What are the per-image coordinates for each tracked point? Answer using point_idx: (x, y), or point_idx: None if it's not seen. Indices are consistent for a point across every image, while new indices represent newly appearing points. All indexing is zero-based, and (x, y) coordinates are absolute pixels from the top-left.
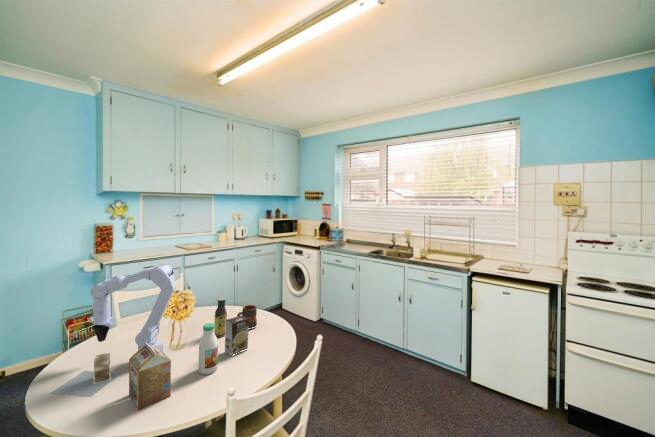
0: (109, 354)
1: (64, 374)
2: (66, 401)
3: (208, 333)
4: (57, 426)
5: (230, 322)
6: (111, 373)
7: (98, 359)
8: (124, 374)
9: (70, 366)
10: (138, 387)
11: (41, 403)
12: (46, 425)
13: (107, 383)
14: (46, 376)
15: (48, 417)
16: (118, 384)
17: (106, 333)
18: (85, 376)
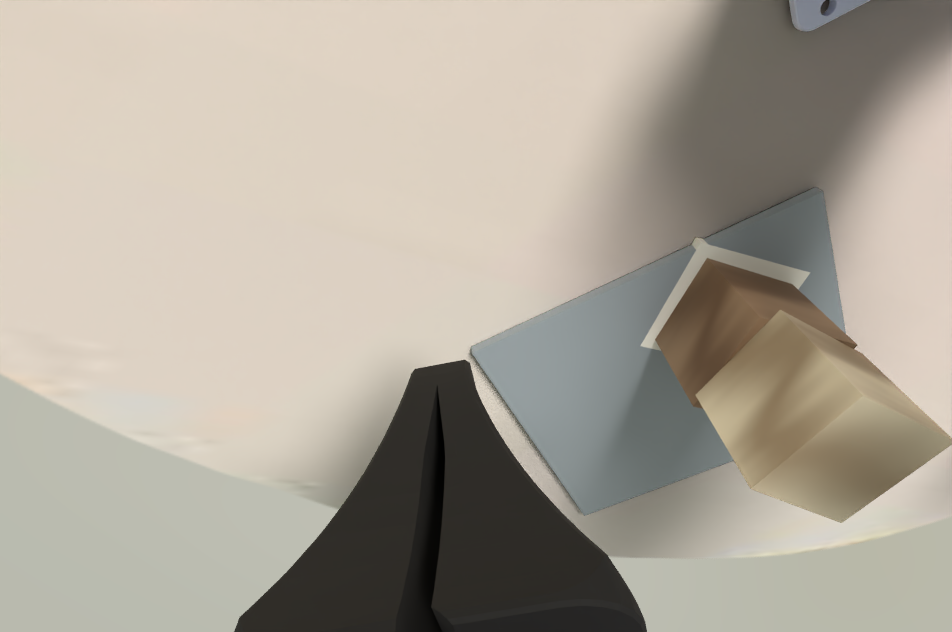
0: (895, 412)
1: None
2: (739, 476)
3: None
4: (890, 524)
5: None
6: (727, 241)
7: (868, 498)
8: (838, 163)
9: (276, 384)
10: None
11: (633, 534)
12: (833, 542)
13: (833, 311)
14: (326, 490)
15: (785, 533)
16: (913, 256)
17: (497, 446)
18: (574, 372)
